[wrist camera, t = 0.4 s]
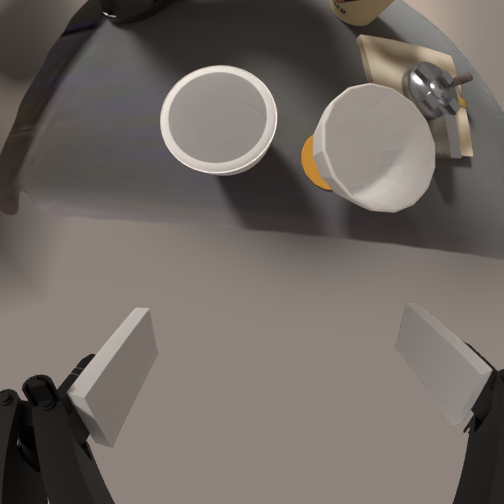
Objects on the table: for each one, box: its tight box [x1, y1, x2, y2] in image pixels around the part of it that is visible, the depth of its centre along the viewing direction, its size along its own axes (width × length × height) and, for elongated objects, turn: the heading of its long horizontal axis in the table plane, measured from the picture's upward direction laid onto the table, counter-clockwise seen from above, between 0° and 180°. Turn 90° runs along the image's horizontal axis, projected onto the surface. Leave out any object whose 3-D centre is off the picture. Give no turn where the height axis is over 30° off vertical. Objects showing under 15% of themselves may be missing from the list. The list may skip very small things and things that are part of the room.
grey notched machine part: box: [402, 61, 461, 159], centre depth 29 cm, size 16×10×5 cm, turn 7°
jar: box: [160, 65, 277, 176], centre depth 28 cm, size 11×10×15 cm
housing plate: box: [356, 34, 473, 157], centre depth 29 cm, size 20×20×7 cm
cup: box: [302, 83, 435, 213], centre depth 28 cm, size 12×12×17 cm
